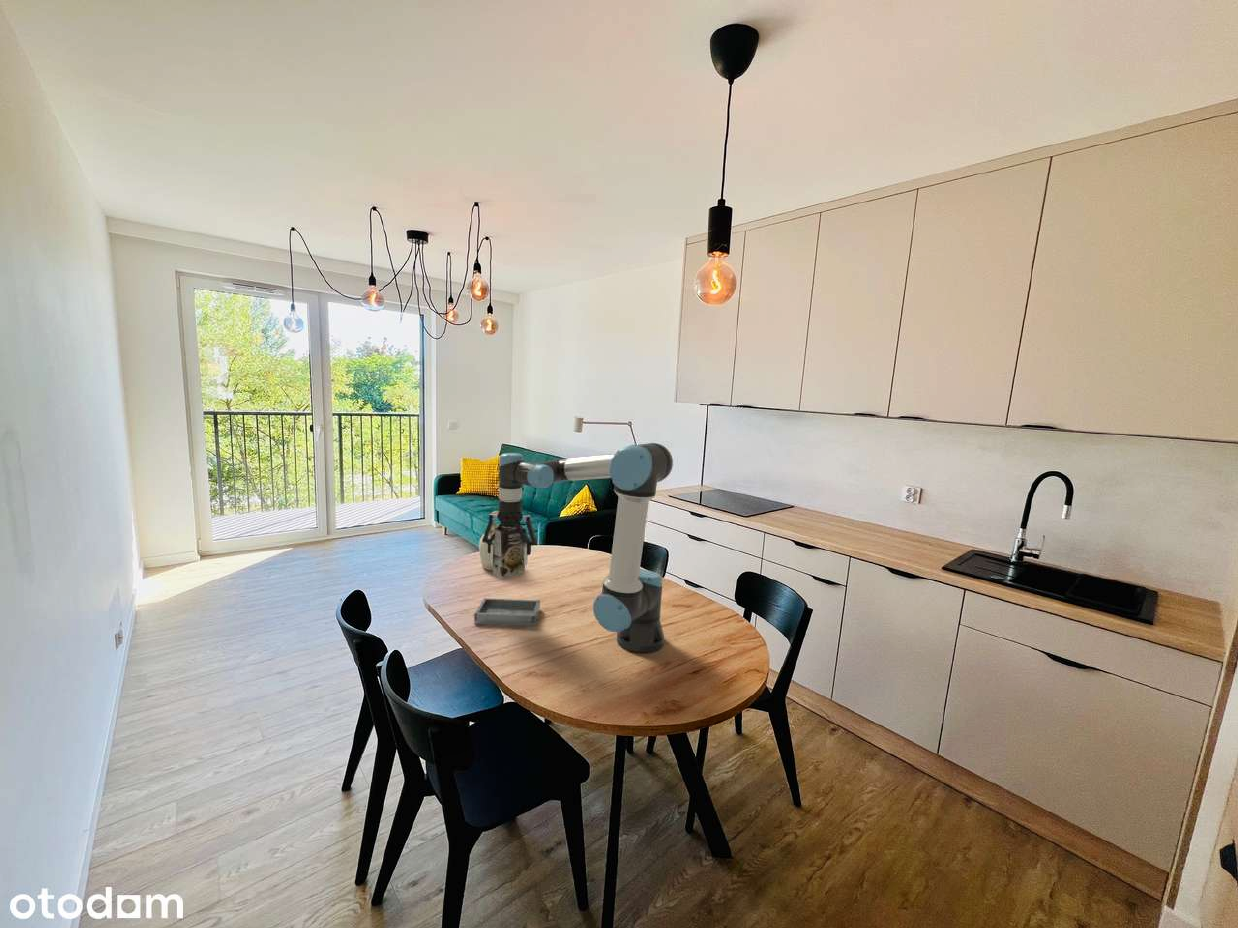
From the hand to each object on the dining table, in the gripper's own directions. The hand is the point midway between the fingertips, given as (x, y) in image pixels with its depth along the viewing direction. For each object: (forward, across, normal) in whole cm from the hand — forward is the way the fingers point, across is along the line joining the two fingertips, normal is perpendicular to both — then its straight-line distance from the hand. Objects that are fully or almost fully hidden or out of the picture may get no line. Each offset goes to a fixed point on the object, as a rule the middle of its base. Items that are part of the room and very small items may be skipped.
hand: (509, 562), depth 169 cm
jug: (+20, +15, -48) cm, 54 cm away
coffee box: (+4, 0, 0) cm, 4 cm away
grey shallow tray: (+19, 0, 0) cm, 19 cm away
